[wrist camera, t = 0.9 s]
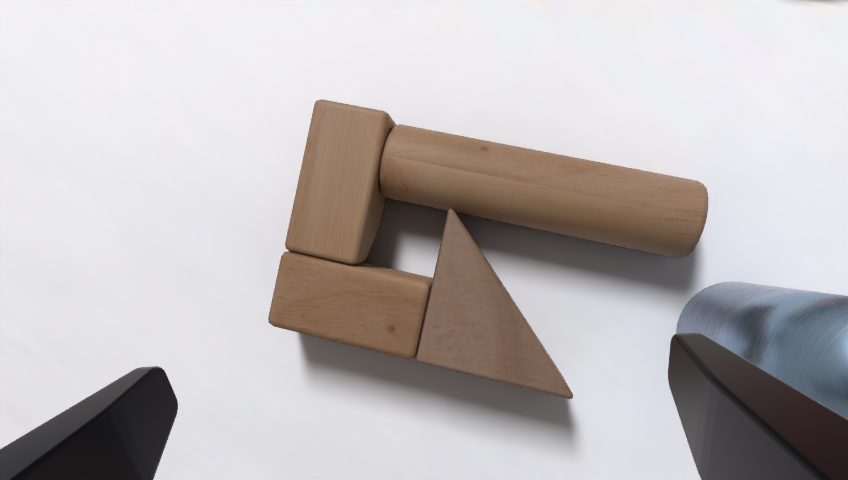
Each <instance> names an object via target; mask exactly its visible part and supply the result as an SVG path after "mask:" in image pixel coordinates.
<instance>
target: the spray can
mask: <svg viewBox="0 0 848 480" xmlns="http://www.w3.org/2000/svg"><path fill="white" fill-rule="evenodd" d="M680 333H701V334H703V335H705V336H707V337H708V338H710V339H712V340H713V341H715V342H717V343H719V344H720V345H722V346H724V347H725V348H727V349H729V350H730V351H732V352H734V353H736V354H737V355H739V356H741V357H742V358H744V359H746V360H747V361H749V362H751V363H753V364H754V365H756V366H758V367H759V368H761V369H763V370H764V371H766V372H768V373H770V374H771V375H773V376H775V377H776V378H778V379H780V380H781V381H783V382H785V383H787V384H788V385H790V386H792V387H793V388H795V389H797V390H798V391H800V392H802V393H804V394H805V395H807V396H809V397H810V398H812V399H814V400H816V401H817V402H819V403H821V404H822V405H824V406H826V407H827V408H829V409H831V410H833V411H834V412H836V413H838V414H839V415H841V416H843V417H844V418H846V419H848V296H843V295H835V294H827V293H819V292H812V291H804V290H796V289H788V288H781V287H773V286H765V285H757V284H749V283H742V282H724V283H719V284H715V285H712V286H709V287H707V288H705V289H703V290H702V291H700V292H699V293H697V294H696V295H695V296H694V297H693V298H691V300H690V301H689V302H688V303H687V304H686V306H685V307H684V309H683V311H682V313H681V315H680V317H679V321H678V325H677V334H680Z"/></svg>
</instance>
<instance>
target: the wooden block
mask: <svg viewBox="0 0 848 480" xmlns="http://www.w3.org/2000/svg"><path fill="white" fill-rule="evenodd" d="M386 198H389V199H394V200H399V201H404V202H408V203H413V204H418V205H423V206H428V207H432V208H437V209H442V210H447V211H448V212H447V217H446V221H445V226H444V231H443V235H442V240H441V245H440V249H439V254H438V259H437V263H436V268H435V273H434V277H433V278H430V277H426V276H421V275H417V274H412V273H408V272H403V271H399V270H394V269H390V268H386V267H381V266H377V265H372V264H368V263H363V262H364V261H365V260H366V258H367V256H368V254H369V251H370V249H371V247H372V244H373V242H374V240H375V237H376V235H377V233H378V231H379V228H380V224H381V219H382V215H383V210H384V205H385V201H386ZM707 212H708V194H707V189H706V188H705V186H704V185H703V184H702V183H700V182H699V181H695V180H689V179H684V178H679V177H674V176H668V175H663V174H658V173H653V172H647V171H642V170H637V169H632V168H626V167H621V166H616V165H610V164H605V163H600V162H595V161H589V160H584V159H579V158H574V157H568V156H563V155H558V154H553V153H547V152H542V151H537V150H532V149H526V148H521V147H516V146H510V145H505V144H500V143H495V142H489V141H484V140H479V139H474V138H468V137H463V136H458V135H453V134H447V133H442V132H437V131H432V130H426V129H421V128H416V127H411V126H405V125H396V124H395V122H394V121H393V120H392V118H391V117H390V116H389V114H387V113H386V112H384V111H380V110H375V109H370V108H364V107H359V106H354V105H348V104H343V103H338V102H332V101H327V100H318V101H316V103H315V105H314V109H313V114H312V119H311V124H310V128H309V133H308V138H307V143H306V147H305V152H304V157H303V162H302V166H301V171H300V176H299V181H298V185H297V190H296V195H295V200H294V204H293V209H292V214H291V219H290V223H289V228H288V233H287V238H286V242H285V246H286V249H288V250H289V251H288V252H284V254H283V255H282V257H281V261H280V265H279V270H278V275H277V280H276V284H275V289H274V294H273V299H272V303H271V308H270V313H269V318H268V319H269V323H270V324H272V325H273V326H275V327H279V328H283V329H287V330H291V331H295V332H299V333H303V334H307V335H311V336H315V337H319V338H324V339H328V340H332V341H336V342H340V343H344V344H348V345H352V346H356V347H360V348H364V349H368V350H373V351H377V352H381V353H385V354H389V355H393V356H397V357H401V358H405V359H413V358H415V356H416V355H417V357H416V358H417V361H418V362H421V363H425V364H429V365H433V366H437V367H441V368H445V369H449V370H453V371H457V372H462V373H466V374H470V375H474V376H478V377H482V378H486V379H490V380H494V381H498V382H502V383H506V384H510V385H515V386H519V387H523V388H527V389H531V390H535V391H539V392H543V393H547V394H551V395H555V396H559V397H563V398H568V399H571V398H573V394H572V392H571V390H570V389H569V387H568V385H567V383H566V381H565V380H564V378H563V376H562V375H561V373H560V372H559V370H558V368H557V367H556V365H555V364H554V362H553V361H552V359H551V358H550V356H549V355H548V353H547V352H546V350H545V348H544V347H543V345H542V344H541V342H540V341H539V339H538V338H537V336H536V335H535V333H534V332H533V330H532V328H531V327H530V325H529V324H528V322H527V321H526V319H525V318H524V316H523V315H522V313H521V312H520V310H519V308H518V307H517V305H516V304H515V302H514V301H513V299H512V298H511V296H510V295H509V293H508V291H507V290H506V288H505V287H504V285H503V284H502V282H501V281H500V279H499V278H498V276H497V275H496V273H495V271H494V270H493V268H492V267H491V265H490V264H489V262H488V261H487V259H486V258H485V256H484V255H483V253H482V251H481V250H480V248H479V247H478V245H477V244H476V242H475V241H474V239H473V238H472V236H471V234H470V233H469V231H468V230H467V228H466V227H465V225H464V224H463V222H462V221H461V219H460V218H459V216H458V214H457V213H461V214H466V215H471V216H476V217H481V218H485V219H490V220H495V221H500V222H505V223H509V224H514V225H519V226H524V227H529V228H533V229H538V230H543V231H548V232H553V233H557V234H562V235H567V236H572V237H577V238H581V239H586V240H591V241H596V242H601V243H606V244H610V245H615V246H620V247H625V248H630V249H634V250H639V251H644V252H649V253H654V254H658V255H663V256H668V257H673V258H681V257H685V256H688V255H689V254H690V253H691V252H692V251H693V249H694V248H695V246H696V244H697V243H698V241H699V239H700V236H701V234H702V232H703V229H704V226H705V222H706V218H707Z"/></svg>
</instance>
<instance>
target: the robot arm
mask: <svg viewBox="0 0 848 480" xmlns="http://www.w3.org/2000/svg"><path fill="white" fill-rule="evenodd" d="M668 381H669V386H670V389H671V392H672V395H673V398H674V401H675V404H676V407H677V410H678V413H679V416H680V419H681V422H682V425H683V429H684V432H685V435H686V438H687V441H688V444H689V447H690V450H691V453H692V456H693V459H694V461H695V464H696V467H697V470H698V473H699V475H700V477H701V479H702V480H848V419H846V418H844V417H843V416H841V415H839V414H838V413H836V412H834V411H833V410H831V409H829V408H827V407H826V406H824V405H822V404H821V403H819V402H817V401H816V400H814V399H812V398H810V397H809V396H807V395H805V394H804V393H802V392H800V391H798V390H797V389H795V388H793V387H792V386H790V385H788V384H787V383H785V382H783V381H781V380H780V379H778V378H776V377H775V376H773V375H771V374H770V373H768V372H766V371H764V370H763V369H761V368H759V367H758V366H756V365H754V364H753V363H751V362H749V361H747V360H746V359H744V358H742V357H741V356H739V355H737V354H736V353H734V352H732V351H730V350H729V349H727V348H725V347H724V346H722V345H720V344H719V343H717V342H715V341H713V340H712V339H710V338H708V337H707V336H705V335H703V334H701V333H680V334H675V335H674V336H673V337H672V339H671V345H670V356H669V367H668ZM177 410H178V403H177V398H176V396H175V394H174V391H173V389H172V387H171V384H170V382H169V380H168V377H167V375H166V373H165V371H164V370H163V369H162V368H161V367H157V366H156V367H141V368H137V369H135V370H133V371H131V372H130V373H128V374H126V375H125V376H123V377H121V378H119V379H118V380H116V381H114V382H113V383H111V384H109V385H108V386H106V387H104V388H103V389H101V390H99V391H98V392H96V393H94V394H93V395H91V396H89V397H87V398H86V399H84V400H82V401H81V402H79V403H77V404H76V405H74V406H72V407H71V408H69V409H67V410H66V411H64V412H62V413H61V414H59V415H57V416H55V417H54V418H52V419H50V420H49V421H47V422H45V423H44V424H42V425H40V426H39V427H37V428H35V429H34V430H32V431H30V432H29V433H27V434H25V435H23V436H22V437H20V438H18V439H17V440H15V441H13V442H12V443H10V444H8V445H7V446H5V447H3V448H2V449H0V480H153V479H154V476H155V473H156V470H157V468H158V465H159V462H160V459H161V456H162V454H163V451H164V448H165V445H166V443H167V440H168V437H169V434H170V431H171V429H172V426H173V423H174V420H175V418H176V415H177Z"/></svg>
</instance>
